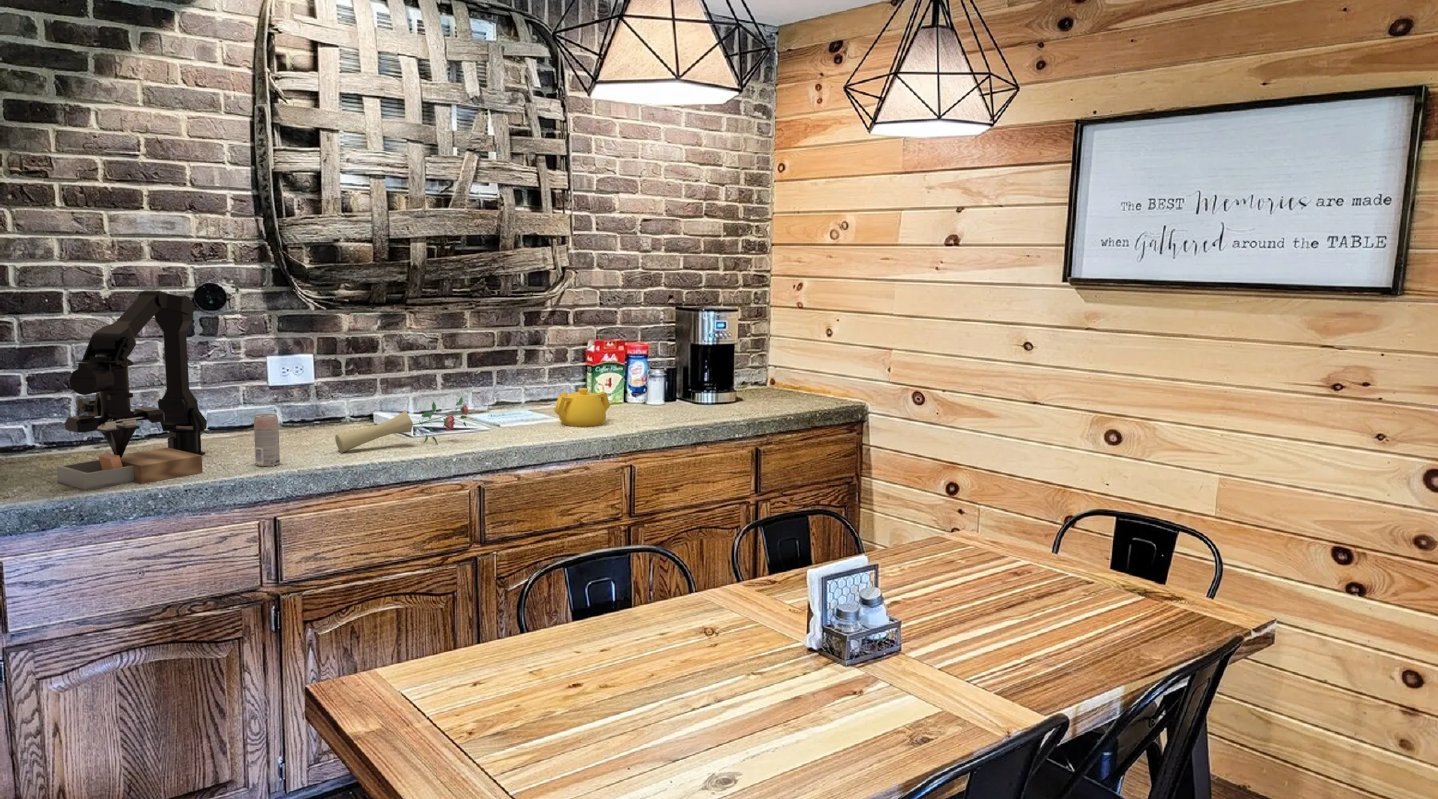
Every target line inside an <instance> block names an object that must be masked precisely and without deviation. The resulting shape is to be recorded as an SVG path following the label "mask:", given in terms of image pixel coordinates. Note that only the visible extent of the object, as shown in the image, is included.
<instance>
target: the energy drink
mask: <svg viewBox="0 0 1438 799" xmlns="http://www.w3.org/2000/svg"><path fill="white" fill-rule="evenodd" d="M279 427H280V426H279V417H278V415H277V414H274V413H262V414H261V413H260V414H256V415H254V418H253V431H254V433H253V435H254V459H255V461H254V462H255V465H256V466H257V465H258V467H260V466H270V467H274V466H273V465H276V466H278V465H279V464H280V463H281V460H280V431H279Z"/></svg>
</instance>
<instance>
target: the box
mask: <svg viewBox="0 0 1438 799" xmlns="http://www.w3.org/2000/svg"><path fill="white" fill-rule="evenodd" d="M56 477H57V482H58V483H60V484H64V485H67V486H71V487H74V488H78V489H82V490H85V491H91V490H96V489H101V488H106V487H112V486H118V485H123V484H127V483H135V482H134V467H133V466H127V467H121V468H115V469H109V470H102V467H101V464H100V460H99V459H93V460H87V461H81V462H75V463H70V464H69V463H68V464H61V465H57V466H56Z"/></svg>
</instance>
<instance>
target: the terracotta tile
mask: <svg viewBox="0 0 1438 799" xmlns="http://www.w3.org/2000/svg"><path fill="white" fill-rule="evenodd" d="M97 458H98V460H100V464H101V467H102V470H109V469H115V468H121V467H123V466H122V463H121V460H120V456H119V455H115V454H114V453H110V452H104V453H102V454H99V455H98V457H97Z"/></svg>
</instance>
